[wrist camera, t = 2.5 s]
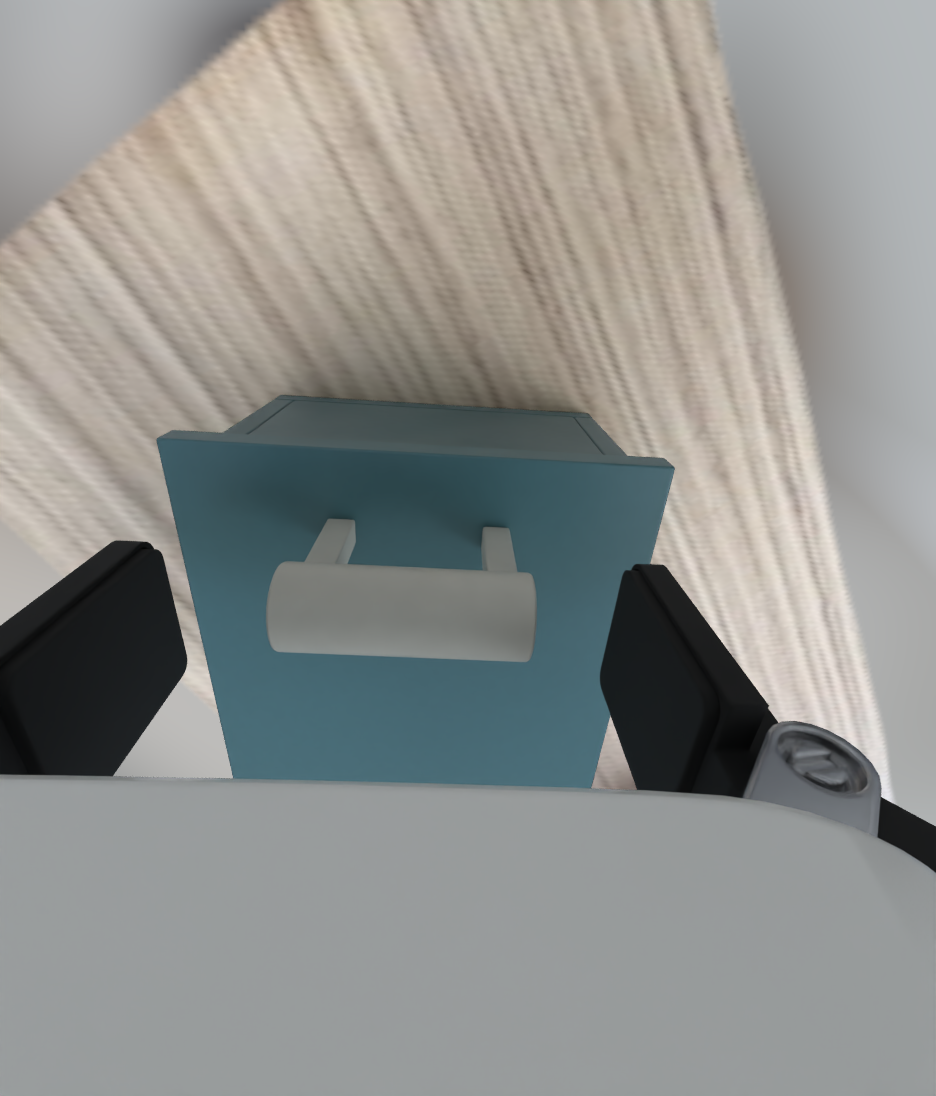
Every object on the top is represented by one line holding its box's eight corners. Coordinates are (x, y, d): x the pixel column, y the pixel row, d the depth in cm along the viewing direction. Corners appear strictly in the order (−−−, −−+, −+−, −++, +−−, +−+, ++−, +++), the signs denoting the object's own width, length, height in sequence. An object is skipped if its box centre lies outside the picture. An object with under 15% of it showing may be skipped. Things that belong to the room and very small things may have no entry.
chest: (279, 394, 21) (179, 459, 13) (589, 413, 21) (656, 485, 14) (309, 672, 27) (254, 817, 20) (542, 682, 28) (572, 826, 21)
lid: (171, 429, 13) (10, 513, 8) (665, 457, 13) (772, 552, 9) (253, 818, 20) (192, 980, 15) (572, 827, 21) (604, 986, 16)
